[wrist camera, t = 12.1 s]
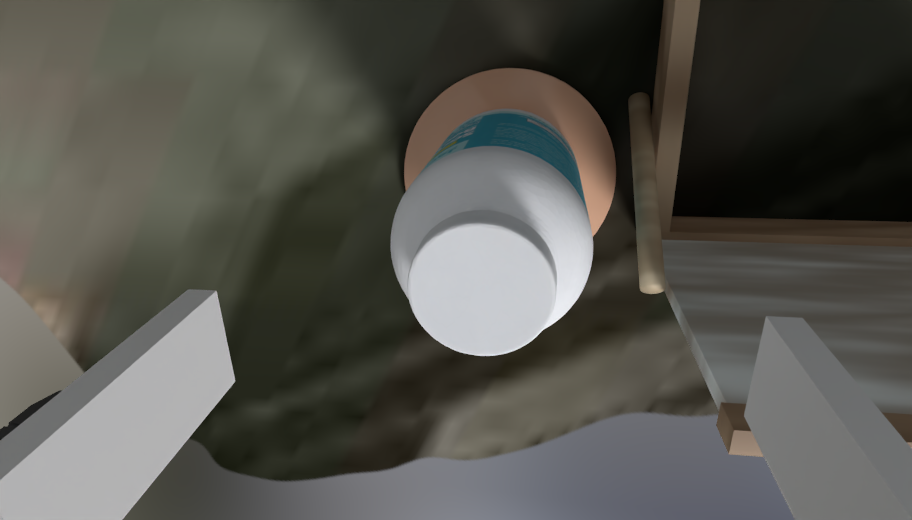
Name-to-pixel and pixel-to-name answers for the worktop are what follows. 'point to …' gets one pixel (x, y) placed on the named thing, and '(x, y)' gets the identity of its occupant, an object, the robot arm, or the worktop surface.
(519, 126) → the pill bottle
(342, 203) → the worktop surface
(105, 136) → the worktop surface
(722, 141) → the worktop surface
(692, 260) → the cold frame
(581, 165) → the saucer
